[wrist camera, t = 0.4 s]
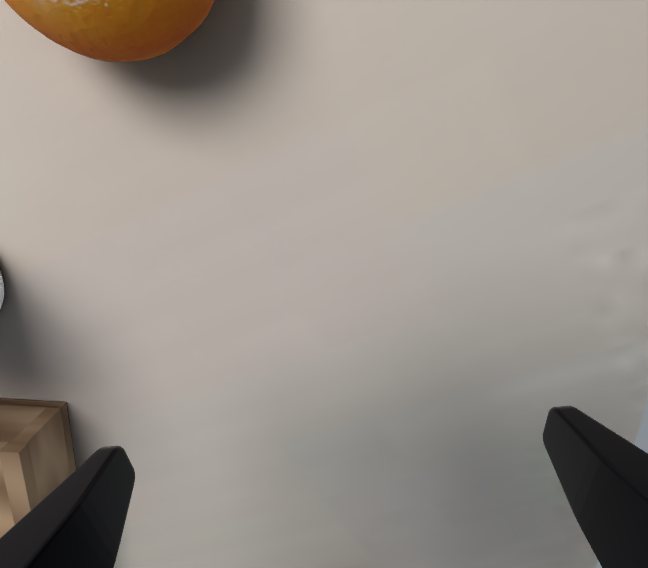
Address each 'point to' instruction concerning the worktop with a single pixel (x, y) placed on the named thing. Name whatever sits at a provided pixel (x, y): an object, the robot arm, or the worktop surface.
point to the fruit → (115, 25)
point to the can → (1, 289)
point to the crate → (31, 455)
